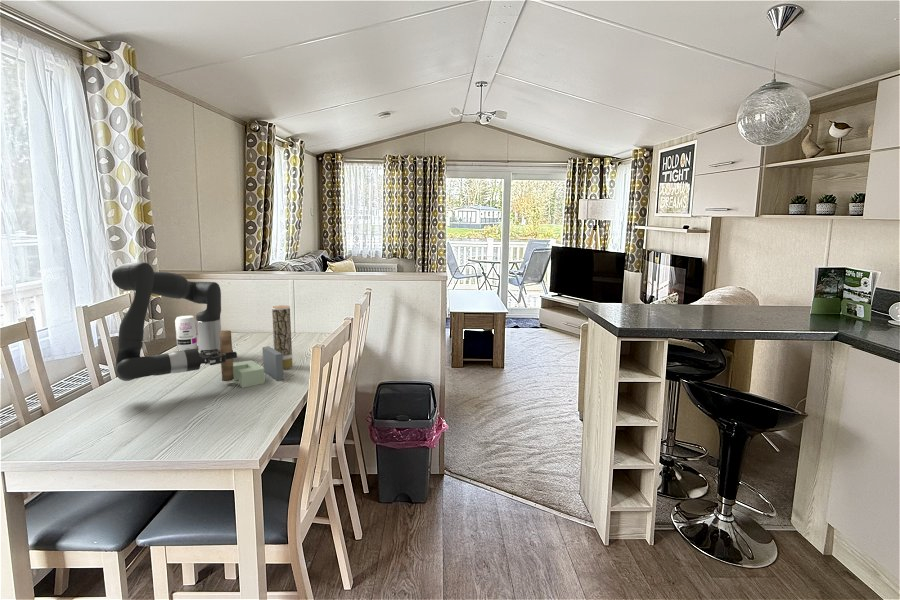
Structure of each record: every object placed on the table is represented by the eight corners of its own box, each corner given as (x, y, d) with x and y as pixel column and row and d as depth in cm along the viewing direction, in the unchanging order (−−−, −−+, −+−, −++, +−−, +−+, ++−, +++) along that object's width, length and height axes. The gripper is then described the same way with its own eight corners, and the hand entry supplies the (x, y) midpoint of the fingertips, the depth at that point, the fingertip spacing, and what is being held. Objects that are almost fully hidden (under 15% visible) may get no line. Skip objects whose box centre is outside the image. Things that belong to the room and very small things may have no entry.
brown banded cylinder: (220, 379, 195) (217, 331, 192) (232, 377, 197) (229, 329, 194) (224, 382, 192) (220, 333, 188) (235, 380, 194) (232, 331, 191)
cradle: (230, 377, 202) (230, 363, 201) (252, 373, 207) (251, 360, 206) (242, 387, 191) (241, 372, 190) (264, 383, 196) (264, 368, 195)
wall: (263, 371, 209) (262, 347, 208) (270, 370, 211) (268, 346, 209) (276, 380, 199) (275, 354, 197) (283, 379, 200) (282, 353, 198)
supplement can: (191, 346, 248) (188, 314, 245) (200, 348, 243) (198, 316, 241) (173, 349, 241) (171, 317, 239) (183, 352, 237) (180, 319, 234)
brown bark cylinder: (287, 370, 211) (284, 308, 207) (271, 369, 213) (268, 307, 209) (295, 365, 218) (293, 305, 214) (280, 364, 219) (277, 305, 215)
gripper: (187, 355, 178) (240, 347, 188) (177, 346, 189) (228, 339, 199) (189, 376, 179) (241, 367, 190) (179, 366, 190) (229, 358, 201)
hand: (234, 353), depth 194 cm, fingers closed on brown banded cylinder, 4 cm apart
